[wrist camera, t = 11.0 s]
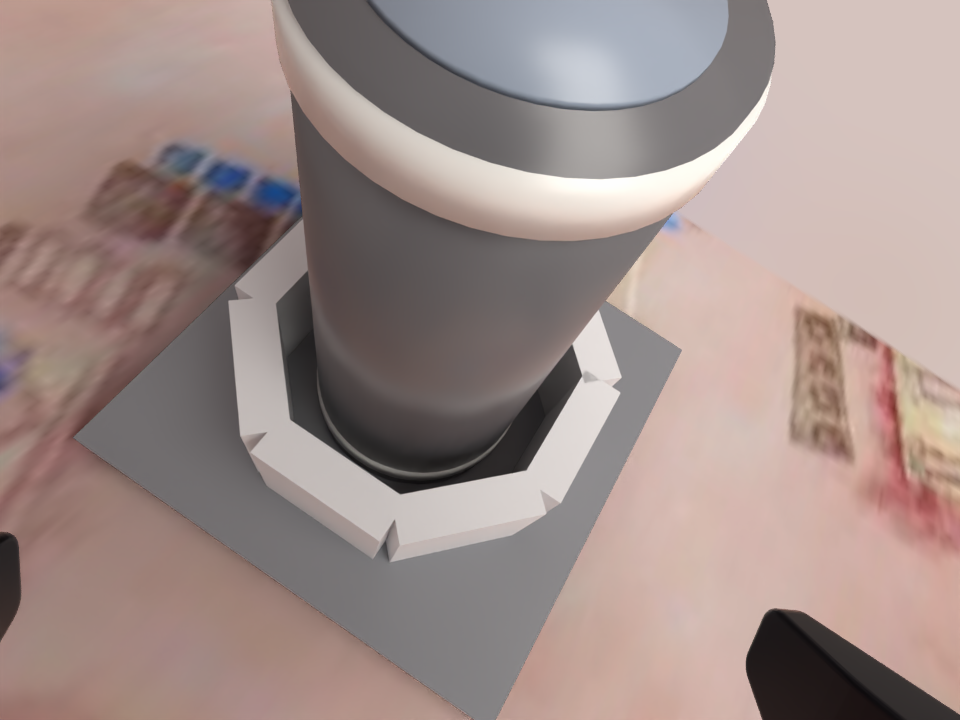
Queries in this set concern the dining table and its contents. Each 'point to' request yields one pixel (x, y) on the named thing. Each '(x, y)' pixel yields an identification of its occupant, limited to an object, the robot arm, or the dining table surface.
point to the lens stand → (383, 481)
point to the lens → (491, 191)
